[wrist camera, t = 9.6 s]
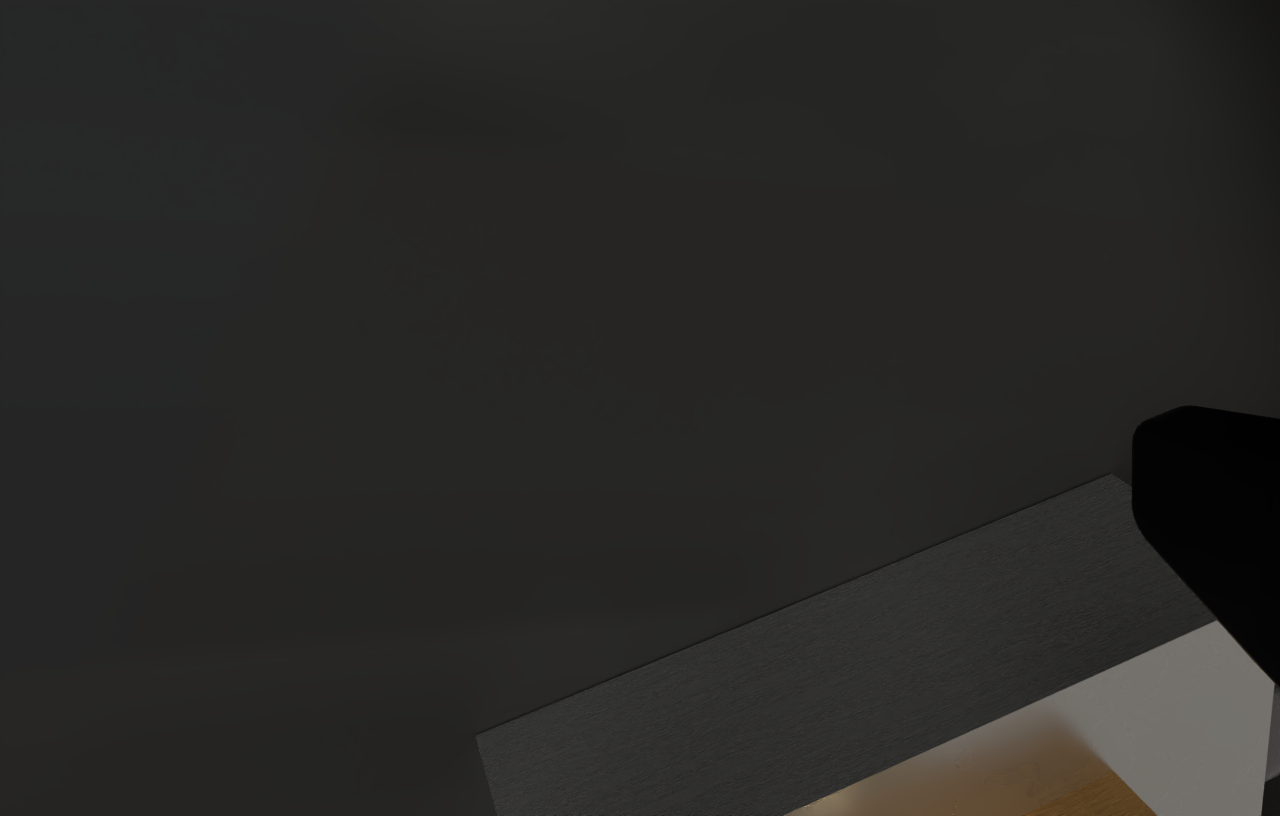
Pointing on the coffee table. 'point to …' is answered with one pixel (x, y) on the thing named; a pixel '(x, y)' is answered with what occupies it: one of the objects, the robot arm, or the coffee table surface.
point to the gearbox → (931, 695)
